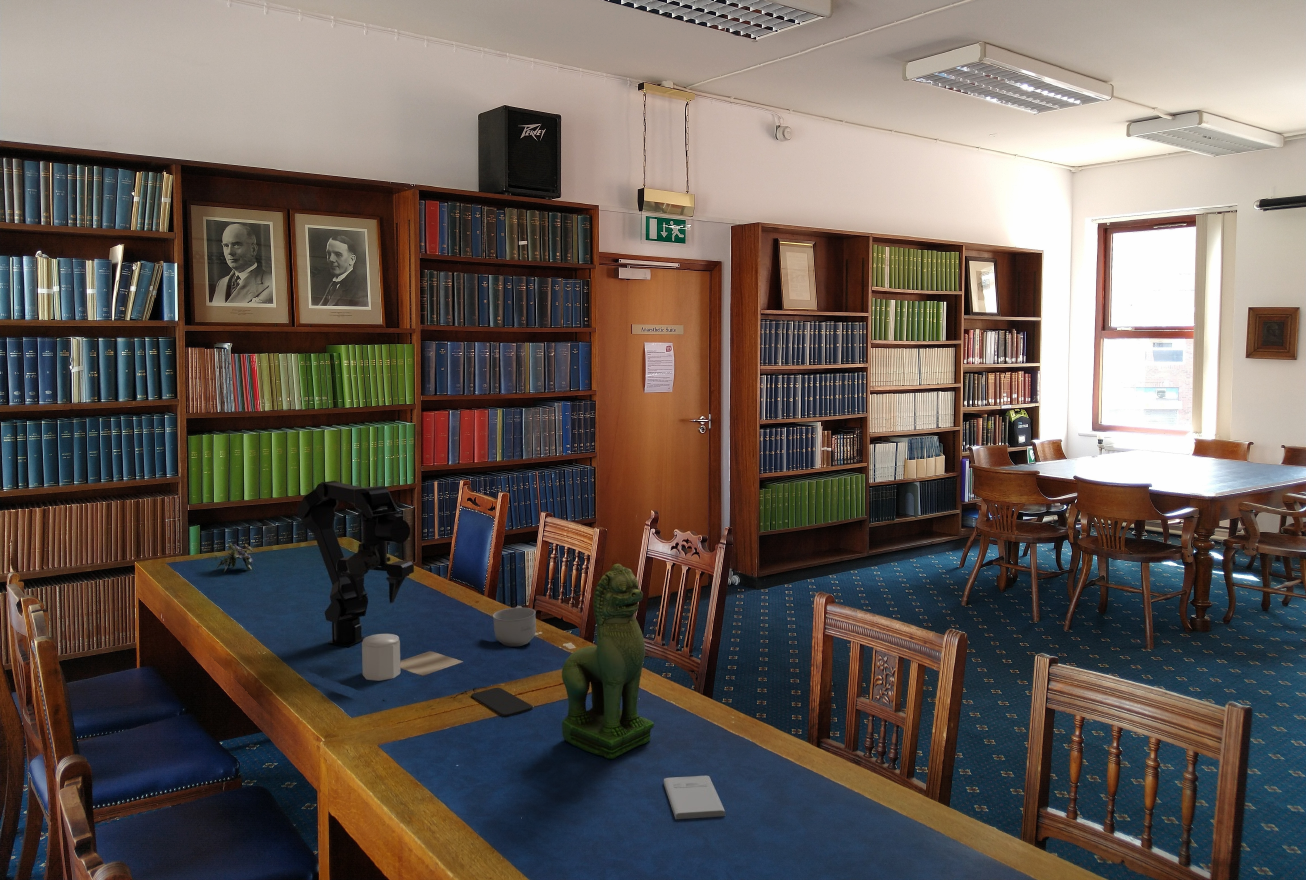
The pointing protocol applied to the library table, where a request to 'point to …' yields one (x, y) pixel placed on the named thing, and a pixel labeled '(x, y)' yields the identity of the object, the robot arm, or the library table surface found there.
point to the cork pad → (427, 663)
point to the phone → (502, 702)
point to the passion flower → (237, 556)
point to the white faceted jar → (381, 657)
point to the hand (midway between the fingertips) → (375, 600)
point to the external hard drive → (693, 797)
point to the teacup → (515, 626)
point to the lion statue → (608, 673)
